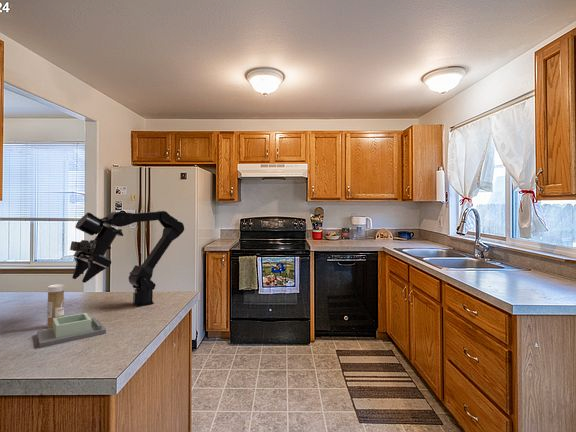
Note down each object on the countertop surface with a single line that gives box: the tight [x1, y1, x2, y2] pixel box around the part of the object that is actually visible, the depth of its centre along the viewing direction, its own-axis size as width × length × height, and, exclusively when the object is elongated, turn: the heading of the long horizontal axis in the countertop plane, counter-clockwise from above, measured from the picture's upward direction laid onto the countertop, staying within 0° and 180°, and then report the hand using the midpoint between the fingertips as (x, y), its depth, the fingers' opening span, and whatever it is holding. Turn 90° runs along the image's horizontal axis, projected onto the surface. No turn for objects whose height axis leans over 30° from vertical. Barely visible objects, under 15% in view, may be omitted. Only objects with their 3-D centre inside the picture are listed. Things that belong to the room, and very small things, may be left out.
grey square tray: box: [36, 312, 107, 348], centre depth 93 cm, size 16×12×5 cm
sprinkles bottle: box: [46, 283, 66, 329], centre depth 100 cm, size 5×5×14 cm
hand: (78, 280), depth 107 cm, fingers open, 9 cm apart
